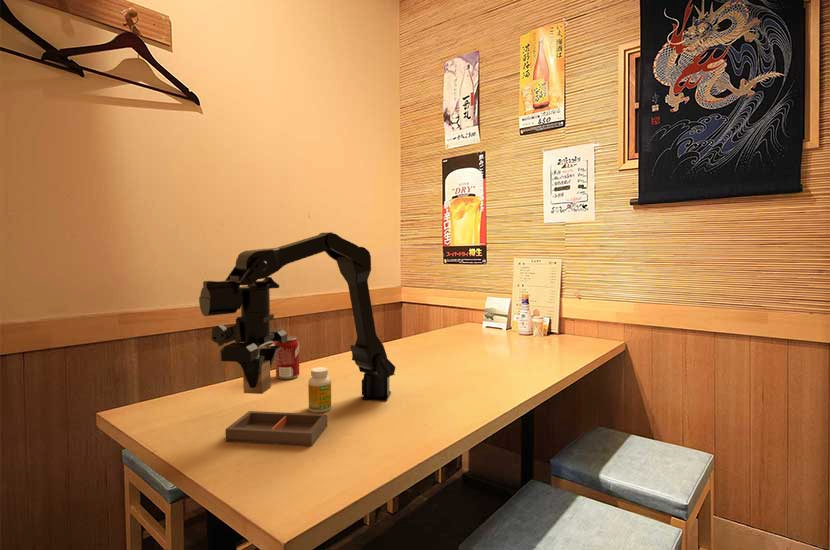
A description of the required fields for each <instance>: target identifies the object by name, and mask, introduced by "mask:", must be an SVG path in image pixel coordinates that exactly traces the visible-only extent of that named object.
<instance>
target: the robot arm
mask: <svg viewBox="0 0 830 550" xmlns="http://www.w3.org/2000/svg"><path fill="white" fill-rule="evenodd" d="M321 253H325V254H326V255H327V256H328V257H330V258H331V259H333V260H334V261H336V264H337V267H338V269H339V272H340V274H341V275H342V278H343V279H344V280H345V282H346V283H347V286H348V287H347V288H348V292H349V297H350V298H349V299H350V302H351V309H352V315H353V322H354V326H355V333H356V339H355V340H356V341H355V342H354V344H351V345H350V347H349V348H350V351H351V356H352V358H351V361H353V362H354V363H355V365H356V366H357V367H358V369H359V370H358V371H359V372H360V373H363V378H362V379H361V396H362V398H361V399H362V400H363V401H379V402H380V401H381V402H382V401H384V402H385V401H388V399H390V396H391V393H392V392H391V390H390V377H391V376H393V375H395V372H396V366H395V365H394V363H392V362H391V360H390V359H388V354H387V353H386V349H385V345H384V344H383V343H382V341H381V339H380V338H379V337H378V335H377V331H376V325H375V319H374V312H373V308H372V307H373V306H372V302H371V301H372V299H371V294H370V288H369V281H368V280H369V277H370V275H371V272H372V256H371V252H370V251H369V249H367V248H365V247H364V246H359V245H357V244H355V243H353V242H351V241H349V240H347V239H345V238H343V237H342V236H340V235H338V234H337V233H335V232H333V231H332V232H330V231H329V232H320V233H319V234H317V235H314V236H311V237H310V236H309V237H307V238H304V239H301V240H297V241H293V242H291V243H287V244H285V245H284V244H283V245H281V246H278V247H272V248H259V249H250V250H243V251H242V252H240V253H239V254H238V255H237V258H236V260H235V266H234V267H233V268H232V270H231V271H230V273H229V274H228V275H227V277H226V279H225V280H218V281H217V280H216V281H215V280H204V281H203V282H202V288H201V291H200V295H199V297H198V302H199V308H200V312H201V314H202V315H203V317H213V316H220V315H221V316H223V315H230V314H236V313H237V311H238V310H240V316H237V317H236V319H235V324H233V325H231V326H228V327H226V326H225V325H224V324H219V325H216V326H214V327H212V328H211V338H210V340H211V341H212V342H214V343H216V344H217V346H218V347H221V346H222V348H221V349H220V350H219V361H220V362H234V363H238V364H239V365H240V367H241V369H242V372H243V371H244V373H245V376H246V379H247V381H248V384H249V386H250V388H255V387H256V384H257V381H258V378H259V374H260V371H261V367H262V364H263V360H270V369H271V367H272V365H273V363H274V360H276V355H277V352H278V350H279V349H280V346H275V342H277V341H279V342H280V344H283V343H285V342H287V336H288V332H286V330H284V328H280V329H279V328H271V321H272V320H275V318H274V317H275V314H274V313H271V304H270V303H271V302H270V301H271V300H270V299H271V296H270V291H271V290H270V289H279V288H280V284H278V282H276V281H275V280H274V279H273V277H271V276H272V275H274V274H275V273H277V272H279V271H280V270H281V269H282V268H283V267H285V266H286V265H288V264H292V263H294V262H298V261H300V260H303V259H307V258H310V257H312V256H315V255H318V254H321ZM233 341H234V342H233ZM228 343H229V344H228ZM224 344H226V345H224Z"/></svg>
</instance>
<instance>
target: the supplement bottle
mask: <svg viewBox="0 0 830 550" xmlns="http://www.w3.org/2000/svg"><path fill="white" fill-rule="evenodd" d="M310 376H311V377H310V378H309V379H308V384H307V386H308V410H309V411H310V412H313V413H324V412H327V411H330V410H331V408H332V379H331V378H330V377H329V368H327V367H322V366H321V367H318V366H317V367H314V368H311V370H310Z"/></svg>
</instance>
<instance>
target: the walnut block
mask: <svg viewBox="0 0 830 550" xmlns="http://www.w3.org/2000/svg"><path fill="white" fill-rule="evenodd" d="M242 375H243V376H242V379H243V383H242V384H243V394H251V395H252V394H254V395H255V394H256V395H263V394H264V393H265V392H267V391H268V390H270V389H271V368H270V360H263V364H262V367H261V371H260V374H259V378H258V381H257V384H256V387H255V388H250V386H249V384H248V381H247V379H246V376H245V373H244V371H243V370H242Z"/></svg>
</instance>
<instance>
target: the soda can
mask: <svg viewBox="0 0 830 550" xmlns="http://www.w3.org/2000/svg"><path fill="white" fill-rule="evenodd" d="M297 338H298V337H297V336H295V335H287V342H285V343H283V344H280V342H279V341H276V342H275V343H274V346H280V349H279V350H278V352H277V355H276V357H275V376H276V377H277V378H278V379H280V380H287V381H288V380H292V379H296V378H297V377H298V376H300V342H299V340H297Z"/></svg>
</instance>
